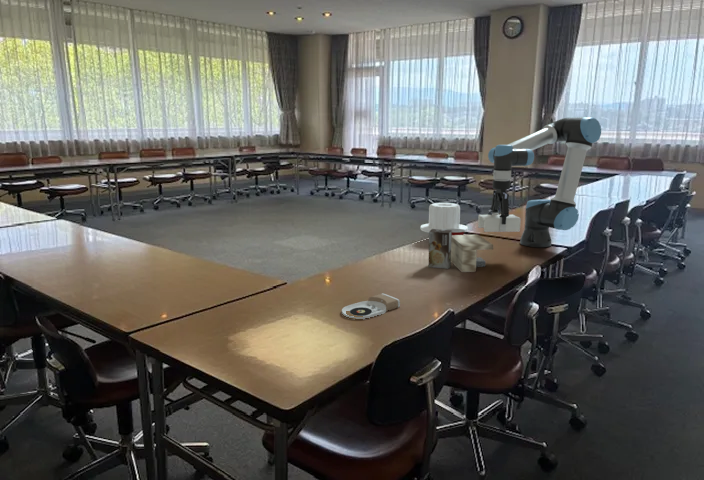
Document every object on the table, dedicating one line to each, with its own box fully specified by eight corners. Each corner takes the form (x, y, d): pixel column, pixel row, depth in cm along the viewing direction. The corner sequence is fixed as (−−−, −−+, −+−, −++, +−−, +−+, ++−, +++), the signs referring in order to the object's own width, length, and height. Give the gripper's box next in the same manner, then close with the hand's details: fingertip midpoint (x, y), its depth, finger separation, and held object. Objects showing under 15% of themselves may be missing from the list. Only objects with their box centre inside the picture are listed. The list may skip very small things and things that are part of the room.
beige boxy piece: (476, 258, 234) (477, 234, 232) (491, 271, 215) (493, 244, 212) (449, 259, 233) (449, 235, 230) (461, 272, 214) (462, 245, 211)
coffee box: (451, 265, 224) (452, 229, 220) (448, 269, 218) (449, 232, 215) (431, 263, 227) (432, 228, 224) (427, 267, 222) (428, 231, 218)
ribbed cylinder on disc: (415, 235, 284) (416, 201, 280) (458, 233, 287) (459, 200, 283) (426, 245, 260) (427, 209, 256) (473, 243, 263) (475, 207, 259)
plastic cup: (463, 250, 249) (464, 226, 246) (465, 256, 238) (466, 231, 236) (440, 250, 250) (441, 226, 247) (442, 256, 239) (443, 231, 237)
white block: (511, 227, 235) (512, 214, 234) (519, 231, 225) (520, 218, 224) (477, 227, 234) (478, 214, 233) (484, 231, 225) (485, 218, 223)
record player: (402, 300, 173) (356, 315, 161) (402, 309, 173) (356, 324, 161) (379, 291, 182) (334, 305, 170) (379, 300, 182) (335, 313, 170)
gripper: (485, 177, 236) (482, 224, 241) (501, 182, 214) (498, 234, 219) (501, 177, 236) (498, 224, 241) (519, 182, 214) (515, 234, 219)
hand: (498, 228), depth 230 cm, fingers closed on white block, 10 cm apart
